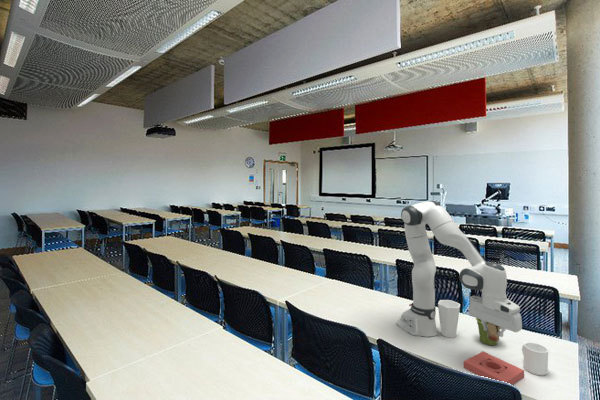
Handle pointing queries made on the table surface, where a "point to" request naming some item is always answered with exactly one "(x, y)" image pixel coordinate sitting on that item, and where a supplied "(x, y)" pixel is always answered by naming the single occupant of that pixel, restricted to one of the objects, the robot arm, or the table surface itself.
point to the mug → (535, 358)
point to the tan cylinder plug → (493, 332)
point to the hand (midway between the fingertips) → (493, 333)
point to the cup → (448, 317)
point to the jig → (493, 368)
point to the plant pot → (484, 334)
